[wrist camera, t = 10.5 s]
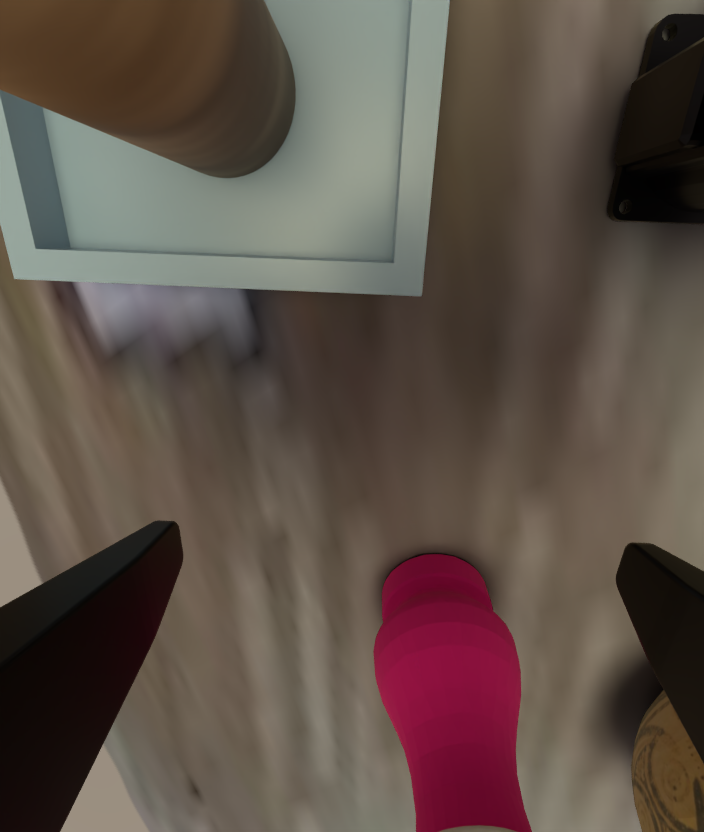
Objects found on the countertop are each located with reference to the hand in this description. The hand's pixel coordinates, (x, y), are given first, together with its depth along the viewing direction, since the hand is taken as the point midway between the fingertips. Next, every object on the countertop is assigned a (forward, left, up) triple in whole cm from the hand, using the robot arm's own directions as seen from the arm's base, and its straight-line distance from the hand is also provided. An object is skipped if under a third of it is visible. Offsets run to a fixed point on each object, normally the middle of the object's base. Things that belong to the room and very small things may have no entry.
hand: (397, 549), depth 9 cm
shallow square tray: (+6, -10, -13) cm, 18 cm away
